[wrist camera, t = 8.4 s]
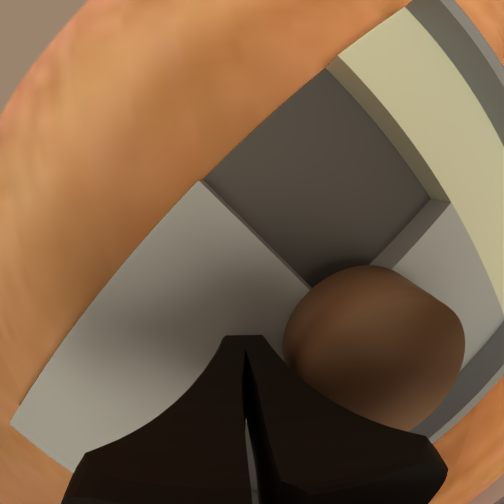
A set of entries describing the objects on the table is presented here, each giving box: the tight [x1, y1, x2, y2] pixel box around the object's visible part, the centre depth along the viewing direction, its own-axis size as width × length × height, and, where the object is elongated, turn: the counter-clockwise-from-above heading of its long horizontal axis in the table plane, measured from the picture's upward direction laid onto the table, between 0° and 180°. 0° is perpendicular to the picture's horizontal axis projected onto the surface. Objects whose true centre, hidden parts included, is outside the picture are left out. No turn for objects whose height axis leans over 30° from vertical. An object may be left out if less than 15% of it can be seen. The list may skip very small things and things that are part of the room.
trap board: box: [9, 0, 504, 504], centre depth 11 cm, size 15×28×3 cm, turn 134°
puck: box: [282, 265, 465, 432], centre depth 9 cm, size 6×6×3 cm
